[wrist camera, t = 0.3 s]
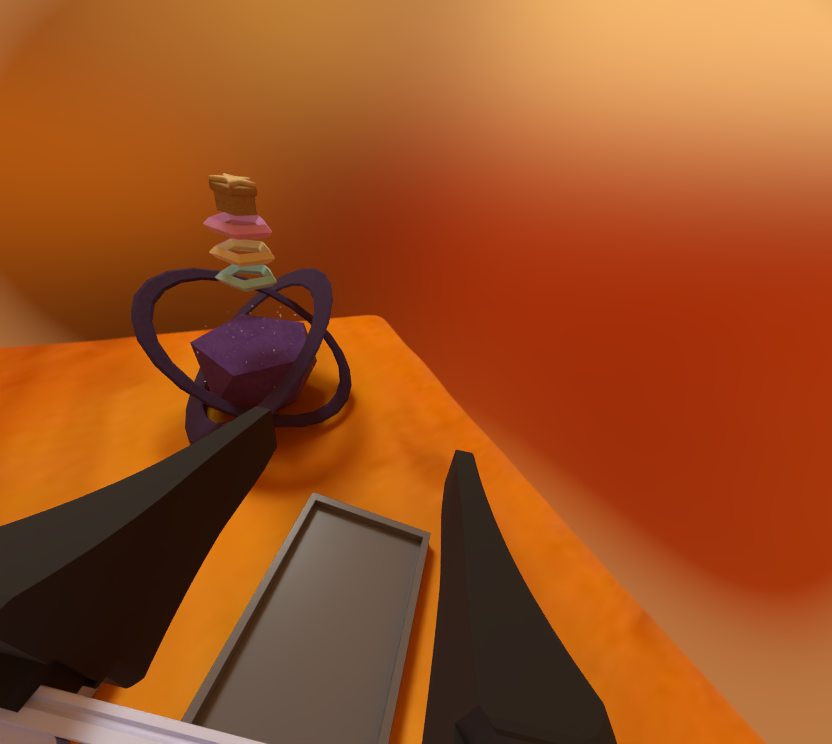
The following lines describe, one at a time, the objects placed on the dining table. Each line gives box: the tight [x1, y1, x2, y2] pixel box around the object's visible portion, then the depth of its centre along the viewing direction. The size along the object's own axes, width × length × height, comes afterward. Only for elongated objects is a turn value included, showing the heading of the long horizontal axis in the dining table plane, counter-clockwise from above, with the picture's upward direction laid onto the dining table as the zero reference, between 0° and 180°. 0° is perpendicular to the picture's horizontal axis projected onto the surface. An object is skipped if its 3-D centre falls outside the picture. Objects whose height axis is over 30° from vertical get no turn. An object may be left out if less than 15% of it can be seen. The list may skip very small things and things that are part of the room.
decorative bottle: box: [130, 173, 351, 444], centre depth 33 cm, size 22×21×25 cm
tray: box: [181, 492, 431, 744], centre depth 22 cm, size 18×12×2 cm, turn 166°
